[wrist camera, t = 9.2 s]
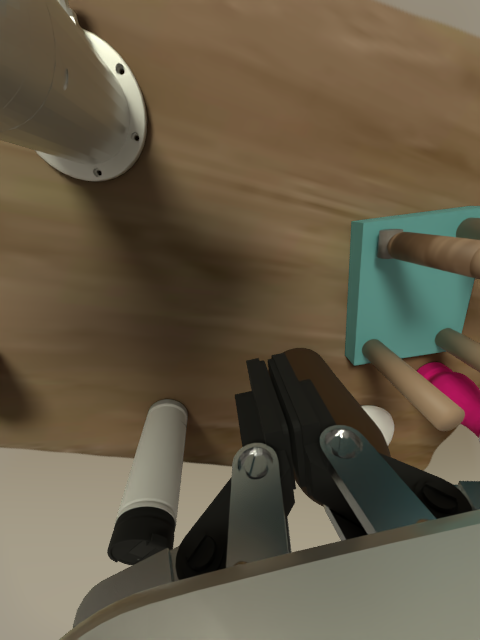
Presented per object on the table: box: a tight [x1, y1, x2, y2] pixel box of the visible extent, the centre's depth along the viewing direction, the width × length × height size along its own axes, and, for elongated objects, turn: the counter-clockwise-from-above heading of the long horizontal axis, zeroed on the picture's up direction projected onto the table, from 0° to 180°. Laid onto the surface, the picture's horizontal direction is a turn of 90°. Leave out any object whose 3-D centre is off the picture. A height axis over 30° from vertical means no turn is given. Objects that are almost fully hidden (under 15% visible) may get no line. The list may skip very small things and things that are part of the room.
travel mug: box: [107, 399, 188, 565], centre depth 35 cm, size 6×7×20 cm
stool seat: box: [345, 206, 480, 431], centre depth 32 cm, size 20×16×17 cm
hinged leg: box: [377, 229, 480, 279], centre depth 27 cm, size 3×3×14 cm
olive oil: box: [268, 348, 391, 507], centre depth 32 cm, size 11×11×25 cm
